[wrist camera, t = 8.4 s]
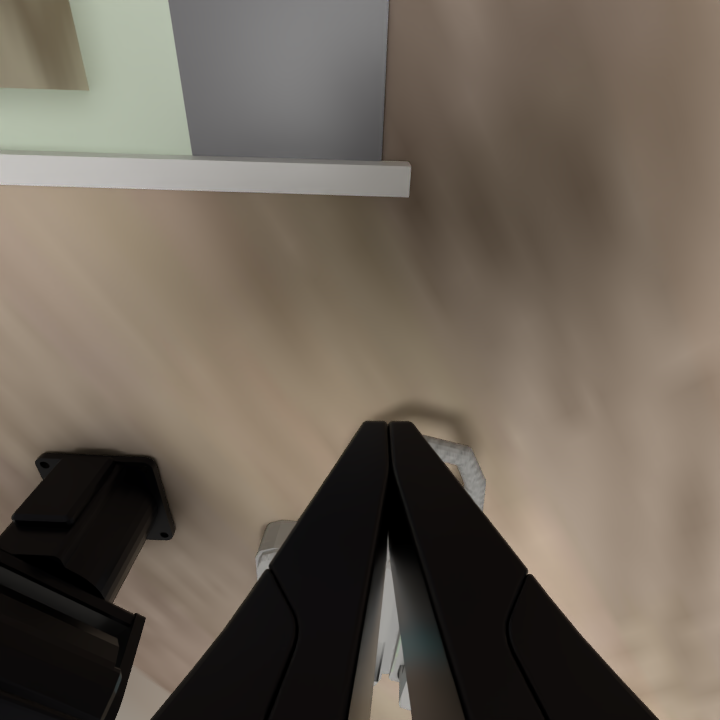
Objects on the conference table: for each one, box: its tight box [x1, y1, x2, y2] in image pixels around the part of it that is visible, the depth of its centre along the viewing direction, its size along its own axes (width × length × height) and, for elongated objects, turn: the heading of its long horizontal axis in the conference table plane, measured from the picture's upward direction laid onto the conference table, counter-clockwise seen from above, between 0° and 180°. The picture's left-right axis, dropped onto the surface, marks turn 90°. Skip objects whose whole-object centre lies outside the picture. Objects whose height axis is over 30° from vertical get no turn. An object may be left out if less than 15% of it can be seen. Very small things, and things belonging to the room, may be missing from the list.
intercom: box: [256, 435, 486, 710], centre depth 27 cm, size 13×4×25 cm
